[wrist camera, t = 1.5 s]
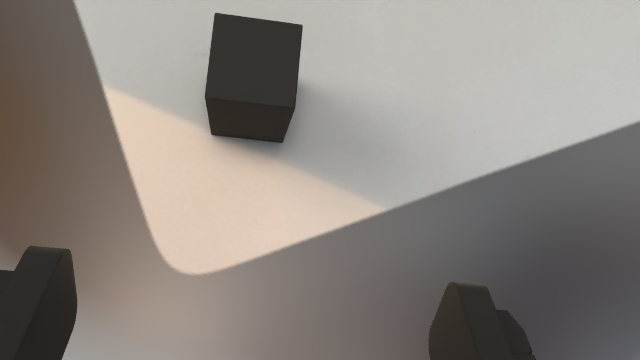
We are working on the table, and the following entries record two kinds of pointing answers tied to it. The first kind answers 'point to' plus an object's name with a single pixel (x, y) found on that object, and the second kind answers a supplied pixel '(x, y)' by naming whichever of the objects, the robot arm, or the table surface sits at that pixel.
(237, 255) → the table surface
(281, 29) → the black block
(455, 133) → the table surface
